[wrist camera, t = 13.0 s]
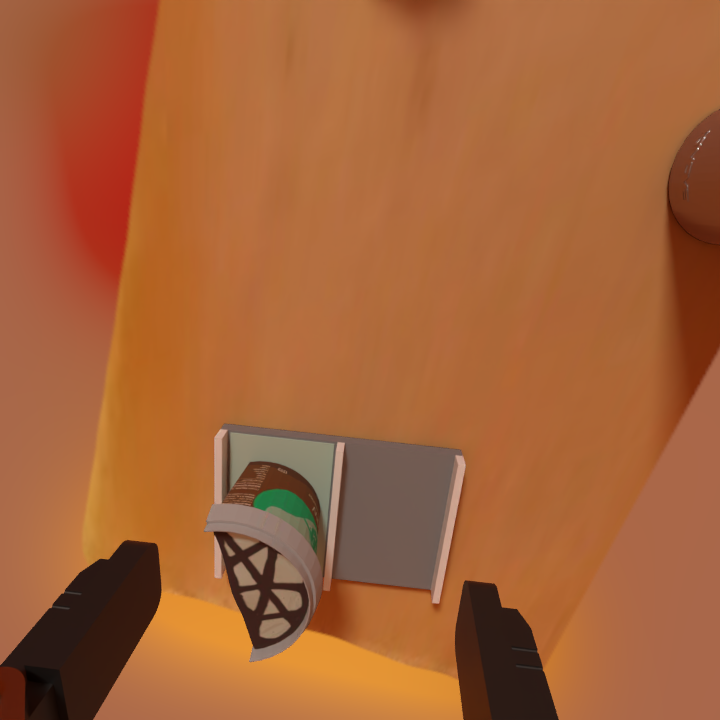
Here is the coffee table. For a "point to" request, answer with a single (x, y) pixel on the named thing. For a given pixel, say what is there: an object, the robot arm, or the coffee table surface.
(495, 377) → the coffee table surface
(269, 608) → the food container
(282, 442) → the sorting board
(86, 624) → the robot arm
